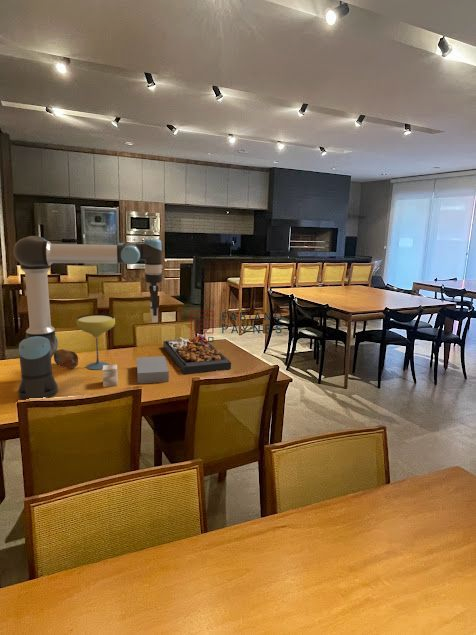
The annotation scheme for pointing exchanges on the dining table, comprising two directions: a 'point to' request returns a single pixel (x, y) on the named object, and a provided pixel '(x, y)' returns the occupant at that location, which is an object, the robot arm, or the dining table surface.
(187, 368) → the food platter
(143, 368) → the slate block
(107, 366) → the cream block
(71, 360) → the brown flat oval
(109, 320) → the cocktail glass
